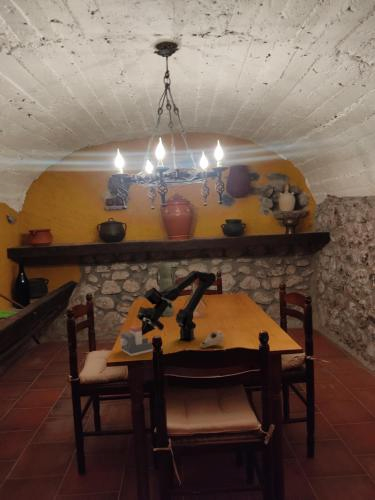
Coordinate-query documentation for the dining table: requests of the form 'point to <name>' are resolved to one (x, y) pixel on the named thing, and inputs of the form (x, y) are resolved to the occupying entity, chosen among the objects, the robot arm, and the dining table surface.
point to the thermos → (166, 284)
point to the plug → (135, 332)
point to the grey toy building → (131, 344)
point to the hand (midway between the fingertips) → (139, 335)
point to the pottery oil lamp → (212, 339)
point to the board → (137, 352)
